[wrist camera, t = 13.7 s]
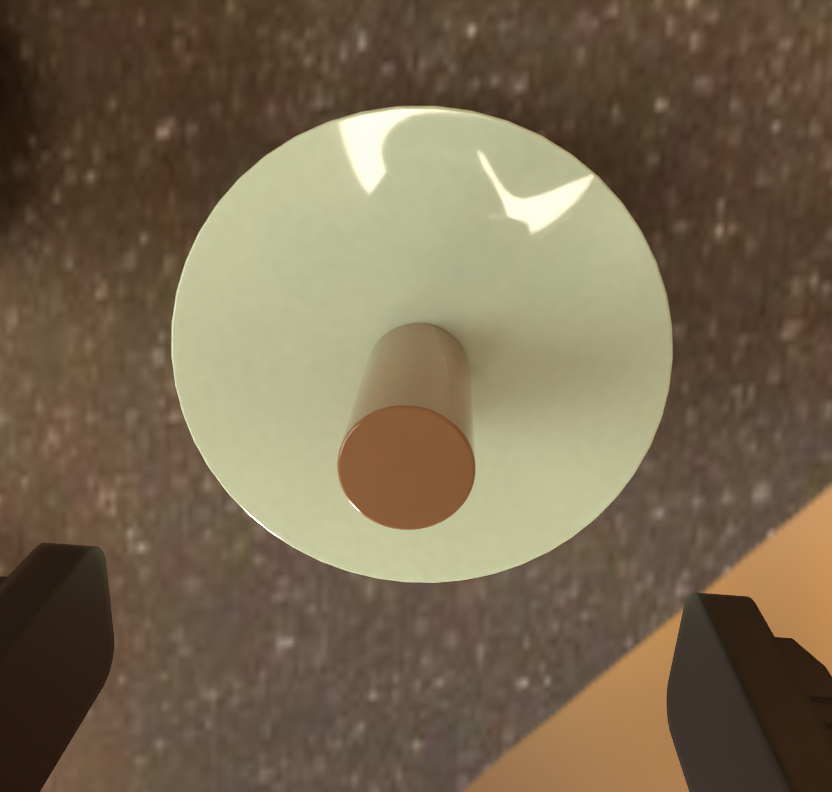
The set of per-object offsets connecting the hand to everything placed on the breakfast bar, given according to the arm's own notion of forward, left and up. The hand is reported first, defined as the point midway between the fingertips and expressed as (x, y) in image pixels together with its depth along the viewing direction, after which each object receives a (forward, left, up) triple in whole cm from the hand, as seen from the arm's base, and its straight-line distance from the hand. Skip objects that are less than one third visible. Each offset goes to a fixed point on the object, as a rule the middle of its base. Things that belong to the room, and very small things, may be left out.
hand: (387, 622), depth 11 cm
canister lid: (0, 0, -10) cm, 10 cm away
